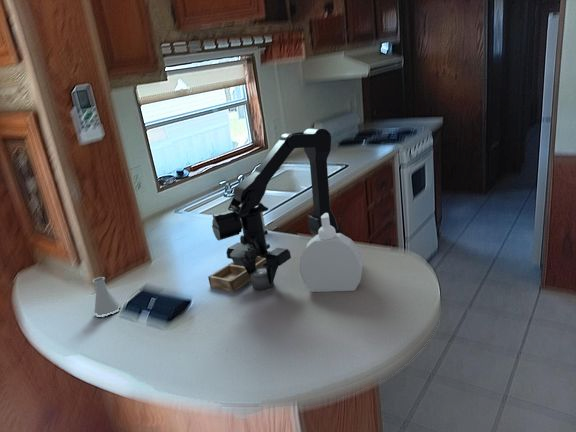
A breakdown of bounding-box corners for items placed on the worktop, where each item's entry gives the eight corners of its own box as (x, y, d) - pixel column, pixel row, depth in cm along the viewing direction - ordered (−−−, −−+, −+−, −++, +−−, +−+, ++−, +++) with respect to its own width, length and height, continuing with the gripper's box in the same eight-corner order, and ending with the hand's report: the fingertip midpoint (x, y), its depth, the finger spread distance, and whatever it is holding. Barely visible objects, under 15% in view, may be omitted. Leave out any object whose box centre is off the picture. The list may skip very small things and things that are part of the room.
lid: (278, 282, 132) (275, 269, 131) (265, 292, 128) (262, 278, 127) (261, 279, 136) (259, 266, 135) (248, 288, 131) (245, 275, 130)
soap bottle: (365, 281, 125) (357, 210, 119) (363, 291, 120) (355, 217, 114) (306, 283, 129) (296, 215, 123) (302, 292, 124) (292, 221, 118)
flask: (95, 321, 126) (85, 288, 123) (93, 311, 132) (83, 279, 129) (123, 312, 129) (113, 279, 126) (119, 302, 135) (110, 271, 132)
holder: (270, 266, 144) (268, 256, 143) (233, 292, 131) (231, 281, 130) (248, 263, 149) (246, 253, 148) (210, 287, 136) (208, 276, 135)
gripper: (207, 237, 126) (218, 289, 131) (261, 244, 115) (271, 300, 120) (235, 223, 135) (244, 272, 139) (287, 228, 123) (296, 282, 128)
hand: (262, 281), depth 131 cm, fingers closed on lid, 6 cm apart
